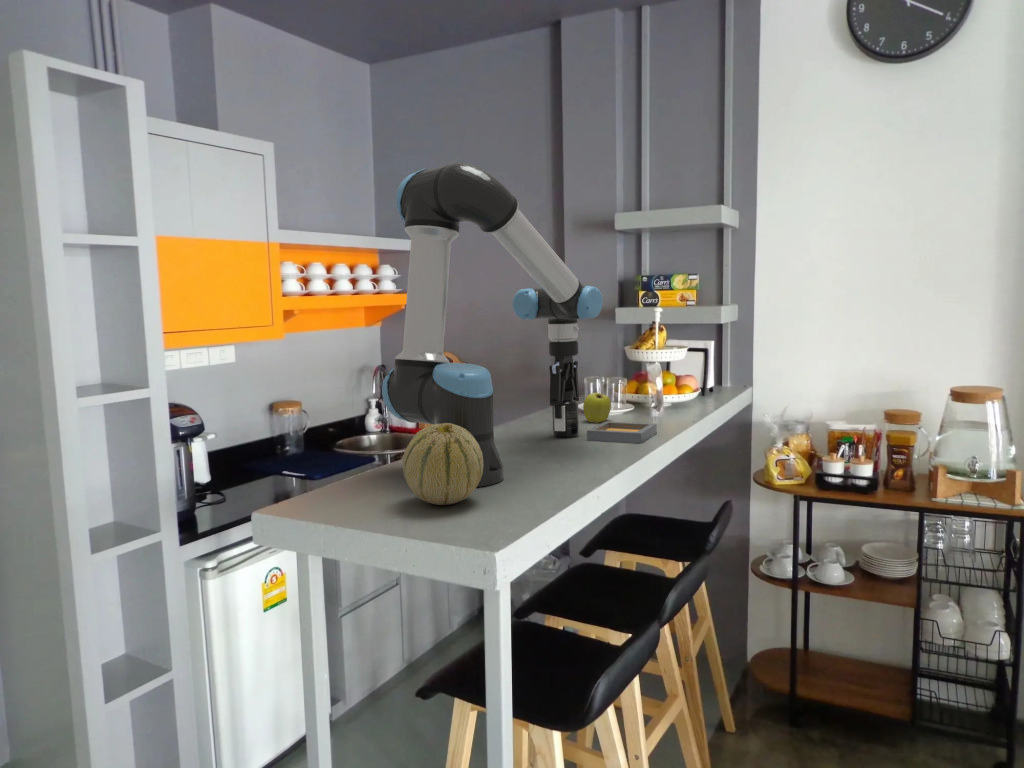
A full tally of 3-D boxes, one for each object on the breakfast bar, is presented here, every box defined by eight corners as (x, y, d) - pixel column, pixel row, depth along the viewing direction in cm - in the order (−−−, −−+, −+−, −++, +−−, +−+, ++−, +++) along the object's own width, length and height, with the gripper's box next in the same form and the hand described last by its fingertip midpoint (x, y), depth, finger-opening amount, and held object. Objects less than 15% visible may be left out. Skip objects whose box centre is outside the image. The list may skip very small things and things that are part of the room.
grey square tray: (641, 443, 185) (640, 433, 185) (587, 440, 191) (586, 430, 191) (656, 433, 198) (656, 423, 197) (605, 430, 204) (605, 421, 203)
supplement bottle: (579, 433, 201) (578, 388, 200) (578, 438, 194) (577, 391, 193) (553, 433, 202) (552, 388, 200) (552, 438, 195) (550, 392, 194)
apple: (578, 416, 222) (587, 383, 221) (604, 423, 222) (614, 391, 221) (579, 421, 214) (589, 387, 213) (606, 428, 214) (616, 395, 213)
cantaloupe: (445, 488, 148) (441, 412, 146) (502, 500, 139) (499, 418, 137) (386, 506, 137) (382, 424, 135) (444, 520, 127) (440, 432, 126)
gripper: (562, 343, 185) (564, 435, 187) (590, 337, 202) (592, 422, 205) (534, 343, 188) (536, 434, 191) (564, 337, 206) (566, 421, 208)
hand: (565, 428), depth 198 cm, fingers closed on supplement bottle, 7 cm apart
